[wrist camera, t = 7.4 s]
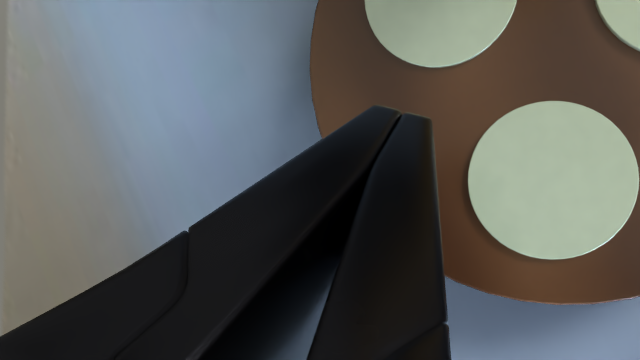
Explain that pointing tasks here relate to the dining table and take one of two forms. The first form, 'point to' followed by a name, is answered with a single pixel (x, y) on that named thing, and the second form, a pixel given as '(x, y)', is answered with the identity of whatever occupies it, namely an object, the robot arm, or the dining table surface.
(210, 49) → the dining table surface
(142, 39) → the dining table surface
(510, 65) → the joystick with buttons
